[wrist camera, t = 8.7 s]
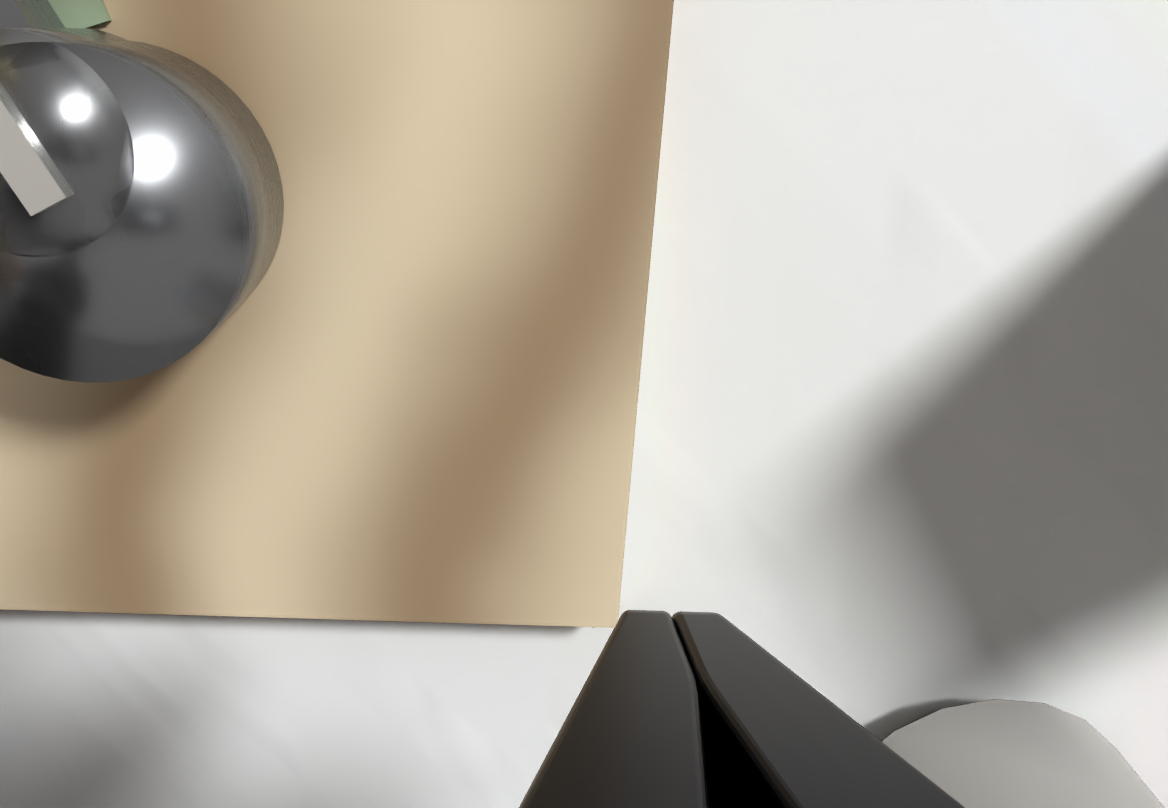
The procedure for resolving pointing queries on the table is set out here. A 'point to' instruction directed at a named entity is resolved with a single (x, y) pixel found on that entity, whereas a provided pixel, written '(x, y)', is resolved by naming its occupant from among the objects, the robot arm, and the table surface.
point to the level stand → (379, 332)
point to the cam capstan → (122, 200)
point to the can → (1020, 758)
